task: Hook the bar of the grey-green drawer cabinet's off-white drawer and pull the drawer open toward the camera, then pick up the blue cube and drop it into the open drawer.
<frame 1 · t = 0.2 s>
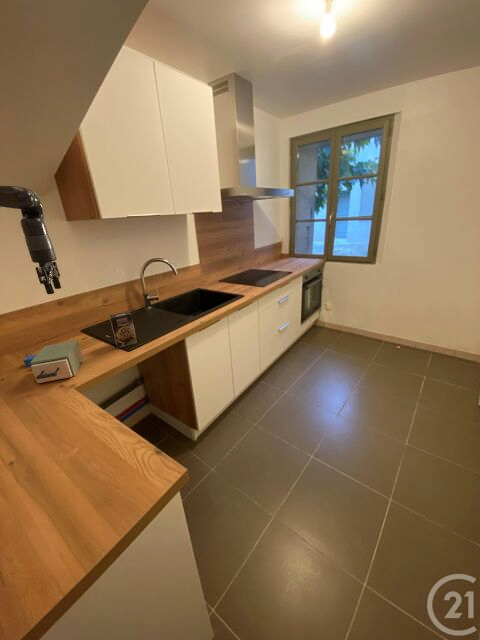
hand: (54, 291, 101), 32 cm above the worktop, tool pointing down, fingers open, 8 cm apart
grey-green drawer cabinet: (62, 370, 108), on the worktop
dispenser drawer: (55, 366, 102), point 5 cm above the worktop, slide at 0.5 cm
coffee box: (127, 345, 127), on the worktop
blue cube: (35, 366, 113), on the worktop
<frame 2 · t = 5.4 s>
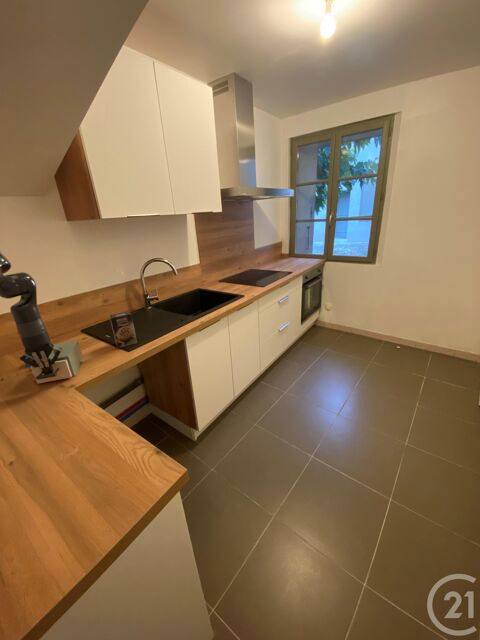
hand: (49, 374, 96), 5 cm above the worktop, tool pointing down, fingers closed
dispenser drawer: (55, 366, 102), point 5 cm above the worktop, slide at 0.8 cm, touching gripper
everything else where it was.
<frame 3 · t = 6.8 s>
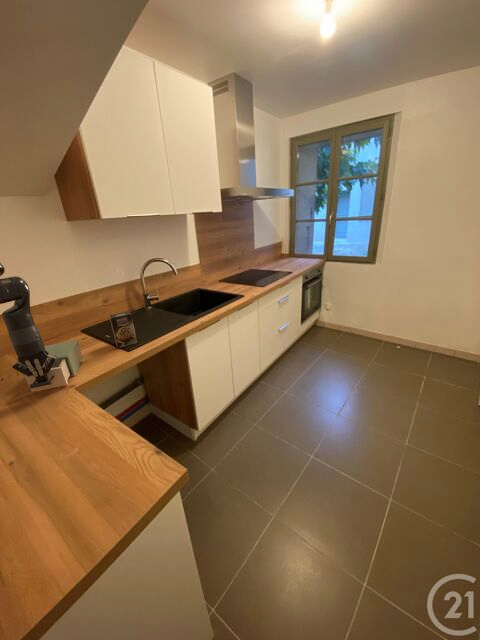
hand: (44, 383, 91), 5 cm above the worktop, tool pointing down, fingers closed
dispenser drawer: (50, 373, 97), point 5 cm above the worktop, slide at 6.2 cm, touching gripper
everything else where it was.
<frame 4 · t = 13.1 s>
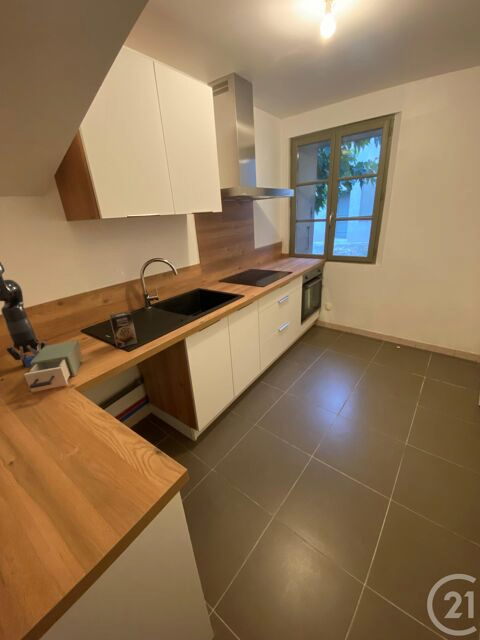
hand: (34, 365, 113), 0 cm above the worktop, tool pointing down, fingers closed on blue cube, 4 cm apart
dispenser drawer: (50, 373, 97), point 5 cm above the worktop, slide at 6.3 cm
blue cube: (35, 366, 113), on the worktop, touching gripper
everything else where it was.
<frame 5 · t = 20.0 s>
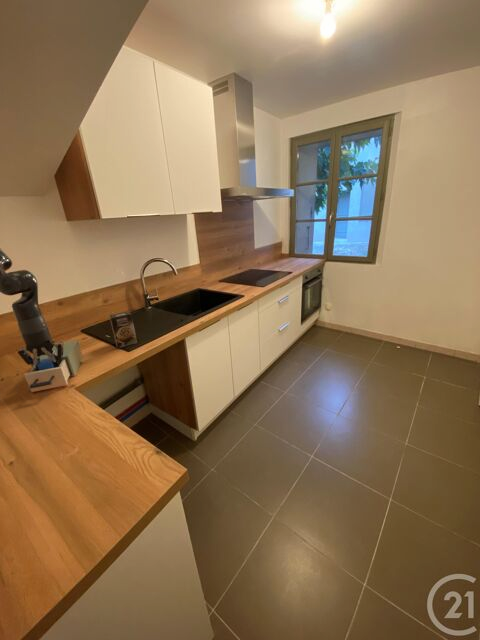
hand: (49, 370, 97), 6 cm above the worktop, tool pointing down, fingers closed on blue cube, 4 cm apart
blue cube: (50, 371, 97), point 5 cm above the worktop, touching gripper
everything else where it was.
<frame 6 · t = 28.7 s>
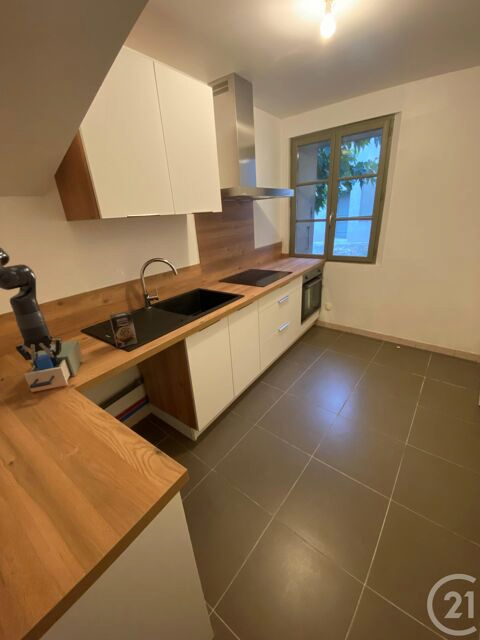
hand: (47, 366, 96), 7 cm above the worktop, tool pointing down, fingers closed on blue cube, 4 cm apart
blue cube: (48, 367, 97), point 7 cm above the worktop, touching gripper
everything else where it was.
when the fingers open (9 cm above the worktop, at t = 37.1 s): blue cube drops 7 cm, resting on dispenser drawer.
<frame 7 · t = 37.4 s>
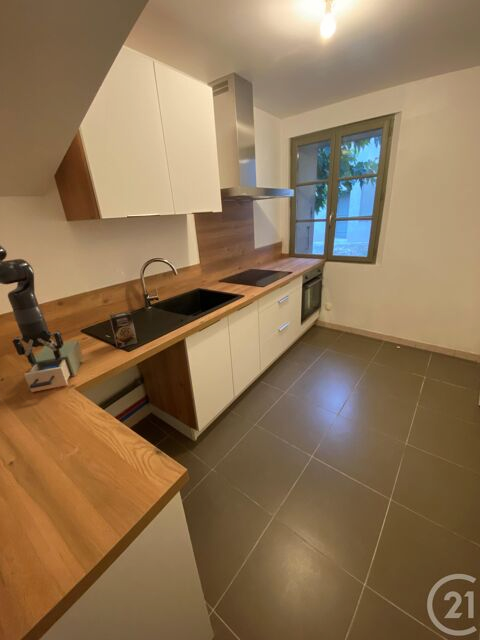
hand: (46, 360, 96), 10 cm above the worktop, tool pointing down, fingers open, 7 cm apart
dispenser drawer: (50, 373, 97), point 5 cm above the worktop, slide at 6.3 cm, touching blue cube
blue cube: (53, 378, 98), point 2 cm above the worktop, touching dispenser drawer
everything else where it was.
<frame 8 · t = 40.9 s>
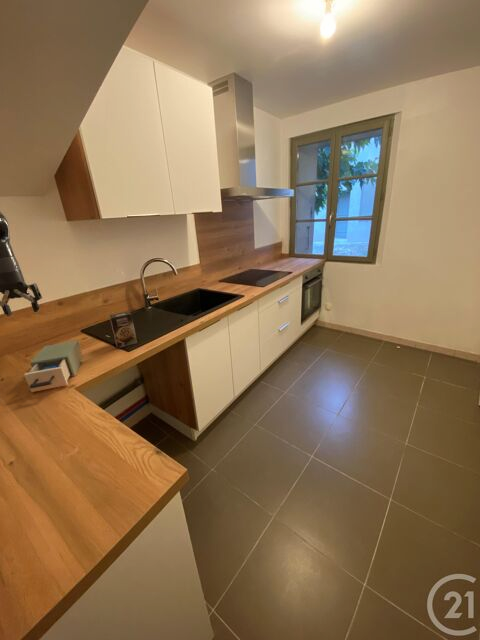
hand: (23, 313, 97), 26 cm above the worktop, tool pointing down, fingers open, 8 cm apart
nothing on the worktop moved.
at the end: dispenser drawer slide at 6.3 cm; blue cube inside the target area in the grey-green drawer cabinet (5.5 cm from its centre), point 2.0 cm above the grey-green drawer cabinet's base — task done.
